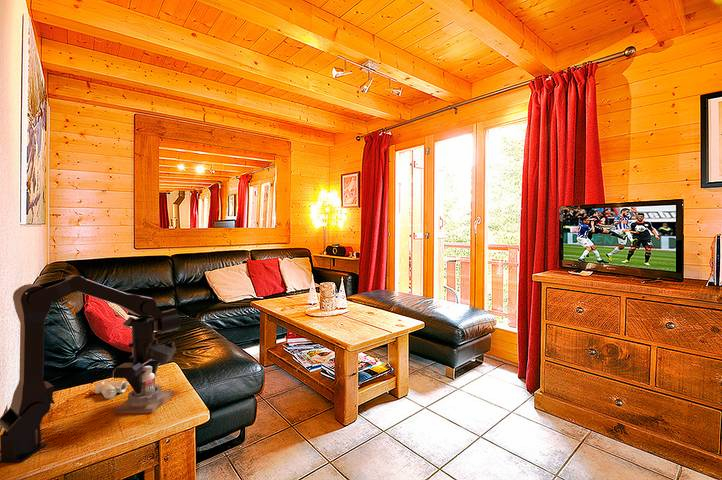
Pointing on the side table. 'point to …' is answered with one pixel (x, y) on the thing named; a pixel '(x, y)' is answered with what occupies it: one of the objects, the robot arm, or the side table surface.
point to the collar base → (145, 408)
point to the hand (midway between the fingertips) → (144, 388)
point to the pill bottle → (147, 382)
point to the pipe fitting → (110, 388)
